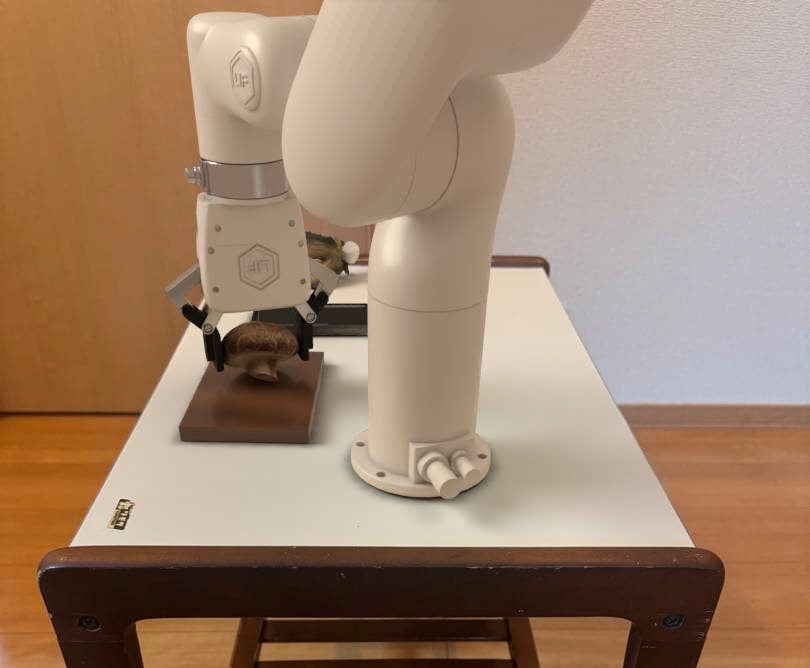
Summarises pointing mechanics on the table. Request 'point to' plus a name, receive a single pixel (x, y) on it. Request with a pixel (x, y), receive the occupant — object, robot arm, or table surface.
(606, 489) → the table surface
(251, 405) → the cutting board
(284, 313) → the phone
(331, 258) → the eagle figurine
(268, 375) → the mushroom
